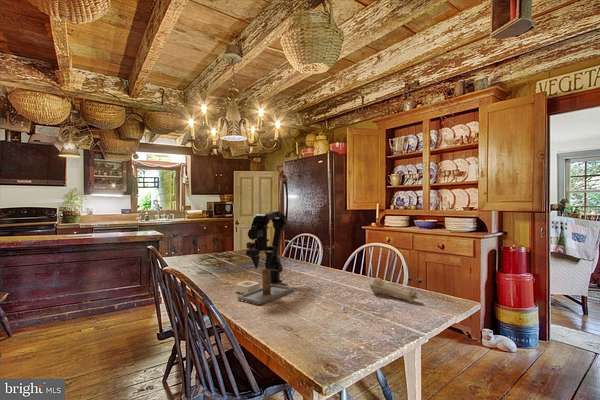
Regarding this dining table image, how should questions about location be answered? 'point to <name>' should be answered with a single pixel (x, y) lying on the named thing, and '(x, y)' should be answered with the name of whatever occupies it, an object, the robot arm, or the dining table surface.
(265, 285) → the pin
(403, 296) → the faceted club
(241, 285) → the square frame
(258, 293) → the tray
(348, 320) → the dining table surface
